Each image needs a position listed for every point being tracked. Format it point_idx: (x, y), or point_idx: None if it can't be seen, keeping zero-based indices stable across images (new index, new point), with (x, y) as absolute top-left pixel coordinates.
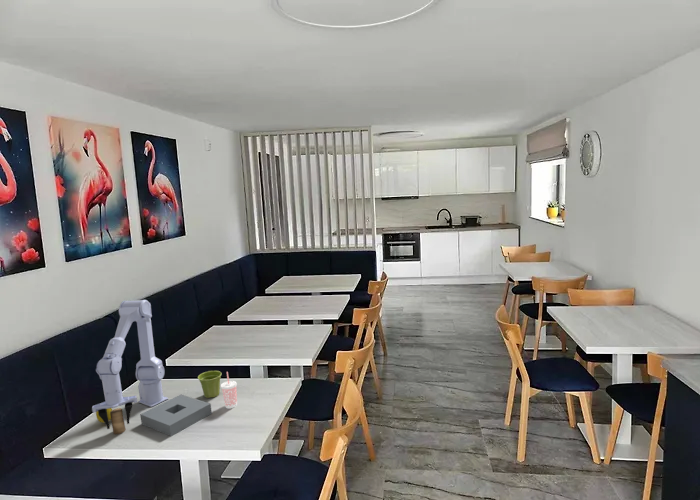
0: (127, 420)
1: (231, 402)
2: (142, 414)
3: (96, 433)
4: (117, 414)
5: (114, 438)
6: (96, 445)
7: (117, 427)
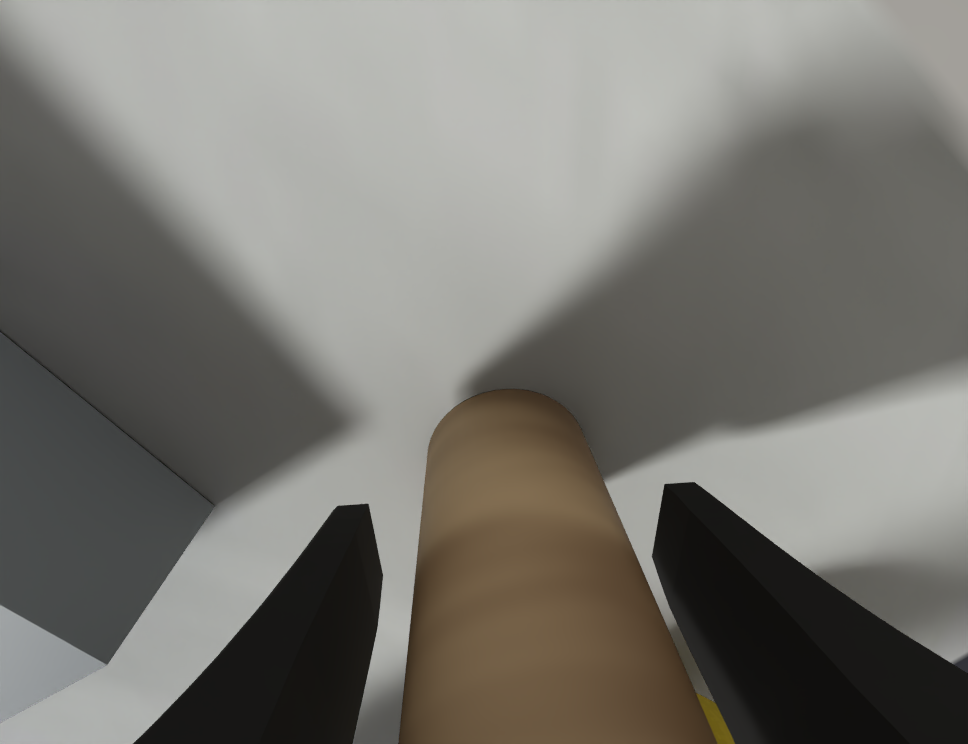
0: (331, 553)
1: None
2: (43, 645)
3: (771, 533)
4: None
5: (580, 276)
6: (870, 179)
7: (535, 456)
